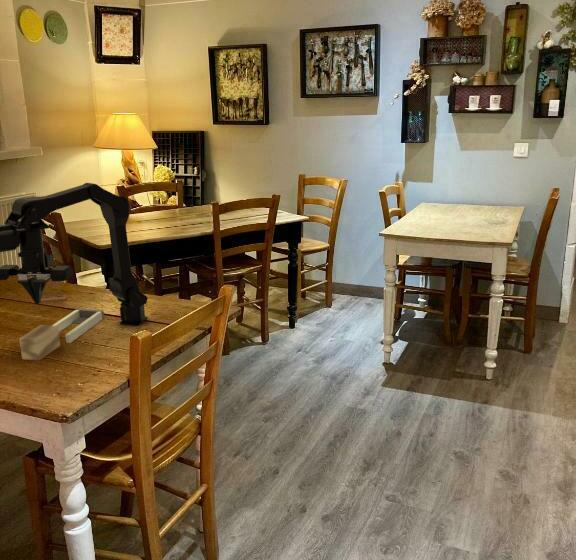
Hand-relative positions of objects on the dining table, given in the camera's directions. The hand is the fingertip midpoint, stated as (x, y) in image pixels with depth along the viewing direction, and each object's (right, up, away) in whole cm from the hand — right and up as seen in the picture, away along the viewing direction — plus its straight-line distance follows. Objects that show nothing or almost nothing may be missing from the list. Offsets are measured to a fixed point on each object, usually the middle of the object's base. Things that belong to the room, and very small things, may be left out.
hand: (38, 303), depth 157 cm
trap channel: (+3, -9, +18) cm, 20 cm away
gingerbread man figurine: (-13, -1, +44) cm, 46 cm away
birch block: (0, -14, +3) cm, 14 cm away
